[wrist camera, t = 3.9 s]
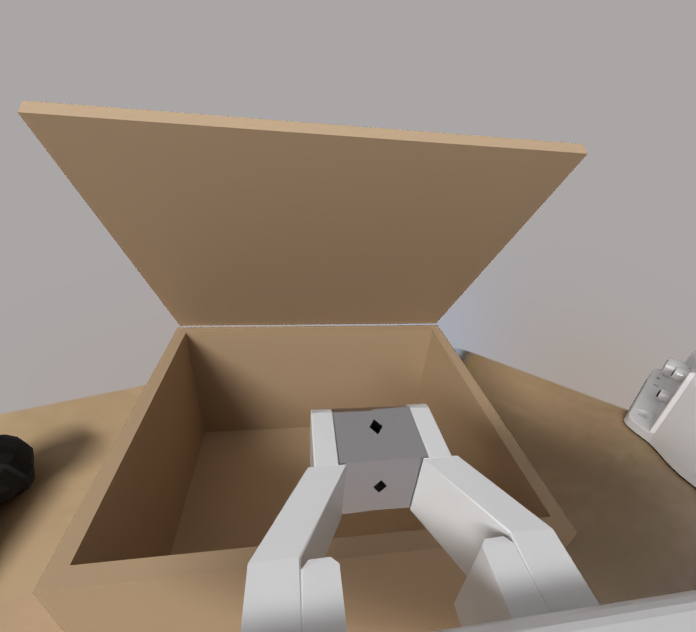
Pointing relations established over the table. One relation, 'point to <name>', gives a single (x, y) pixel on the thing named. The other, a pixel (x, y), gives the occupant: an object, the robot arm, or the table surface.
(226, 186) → the flap
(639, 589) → the table surface
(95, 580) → the carton
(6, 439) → the microphone
